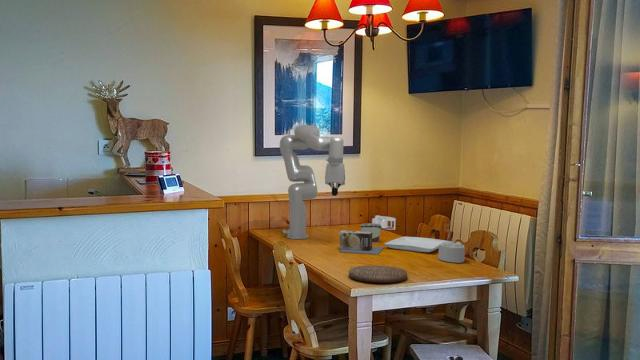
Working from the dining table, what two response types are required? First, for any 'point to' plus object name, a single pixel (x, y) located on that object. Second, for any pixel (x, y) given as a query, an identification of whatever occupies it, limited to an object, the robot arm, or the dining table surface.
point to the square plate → (415, 244)
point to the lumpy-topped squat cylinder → (452, 252)
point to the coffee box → (356, 240)
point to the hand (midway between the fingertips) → (334, 195)
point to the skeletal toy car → (384, 221)
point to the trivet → (378, 274)
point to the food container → (374, 229)
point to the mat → (373, 251)
